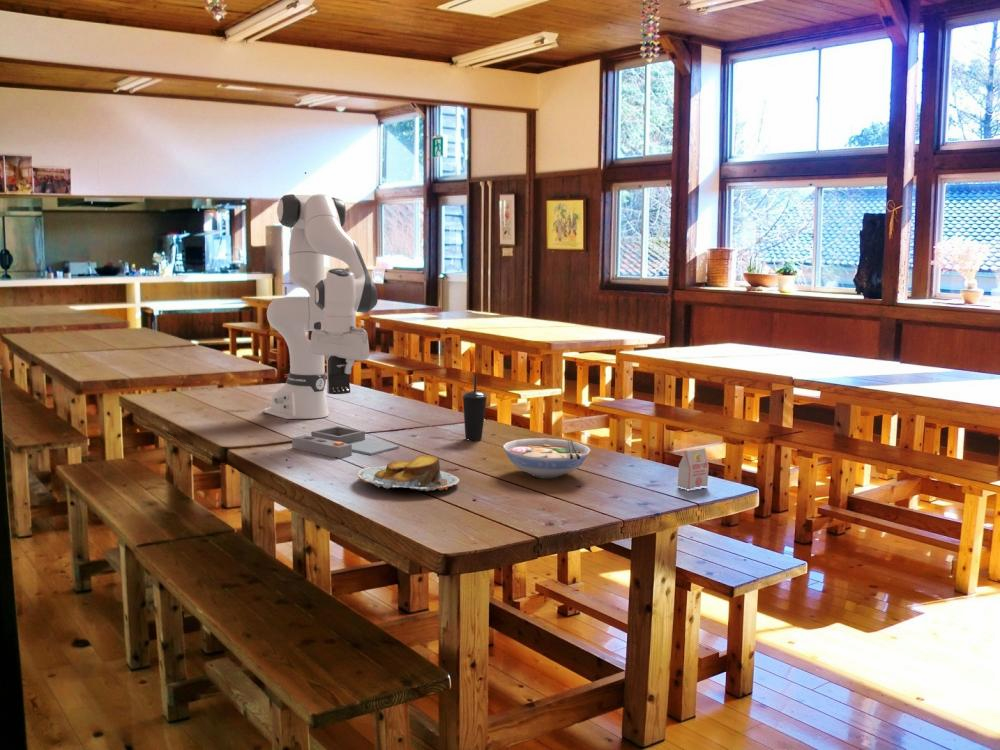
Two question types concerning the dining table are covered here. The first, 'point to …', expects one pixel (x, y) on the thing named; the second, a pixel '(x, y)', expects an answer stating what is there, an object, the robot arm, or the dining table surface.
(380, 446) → the slate mat
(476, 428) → the drinking cup
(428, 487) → the food on plate
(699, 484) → the white milk carton
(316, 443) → the charging station
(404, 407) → the dining table surface
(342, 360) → the battery charger
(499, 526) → the dining table surface
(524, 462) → the ramen bowl
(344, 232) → the robot arm
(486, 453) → the dining table surface
